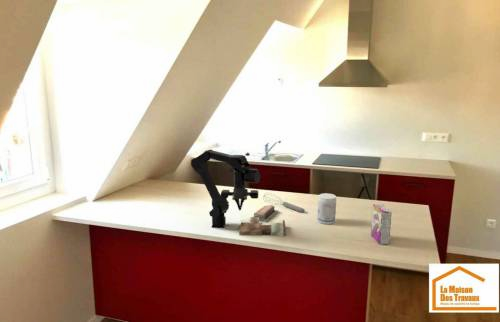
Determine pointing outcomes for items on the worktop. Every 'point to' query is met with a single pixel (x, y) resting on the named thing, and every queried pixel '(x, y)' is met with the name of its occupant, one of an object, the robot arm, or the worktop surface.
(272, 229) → the trap deck
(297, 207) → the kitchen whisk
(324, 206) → the supplement tub
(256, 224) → the birch block
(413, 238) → the worktop surface
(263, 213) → the packaged product
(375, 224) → the candy bar box
